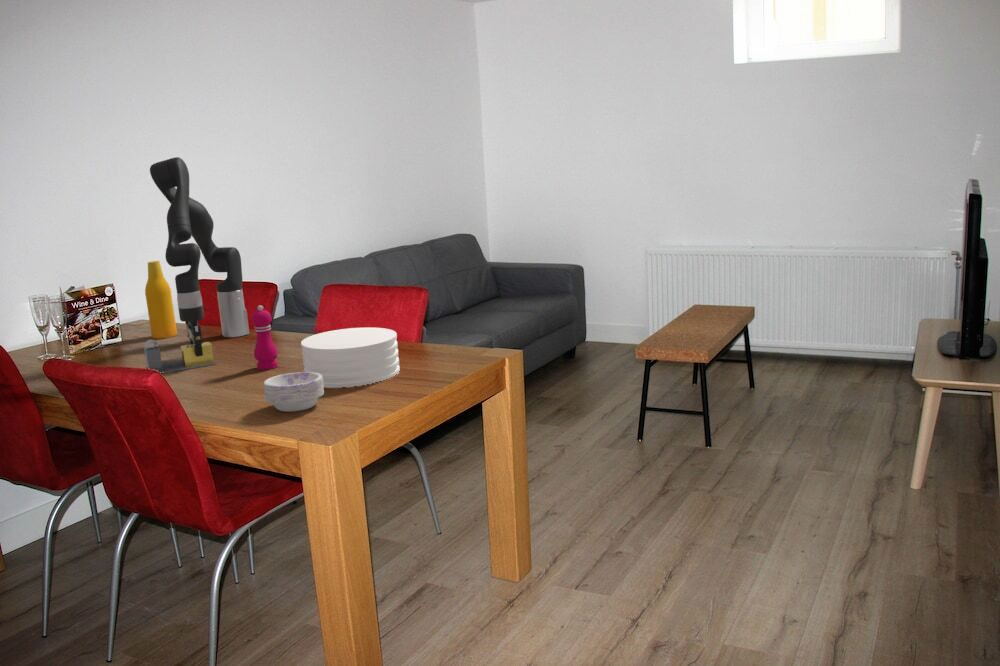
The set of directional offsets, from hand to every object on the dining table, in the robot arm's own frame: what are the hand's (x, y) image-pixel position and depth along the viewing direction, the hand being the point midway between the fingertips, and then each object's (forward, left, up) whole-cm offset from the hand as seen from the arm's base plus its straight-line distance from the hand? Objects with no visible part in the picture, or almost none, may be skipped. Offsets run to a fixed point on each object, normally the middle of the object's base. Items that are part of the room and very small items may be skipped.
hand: (197, 353), depth 279 cm
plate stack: (-36, +49, -4) cm, 61 cm away
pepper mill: (-17, +22, -3) cm, 28 cm away
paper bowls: (-13, +71, -4) cm, 72 cm away
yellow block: (0, 0, -3) cm, 3 cm away
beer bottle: (+4, -57, -3) cm, 57 cm away
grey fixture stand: (+5, 0, -3) cm, 6 cm away
